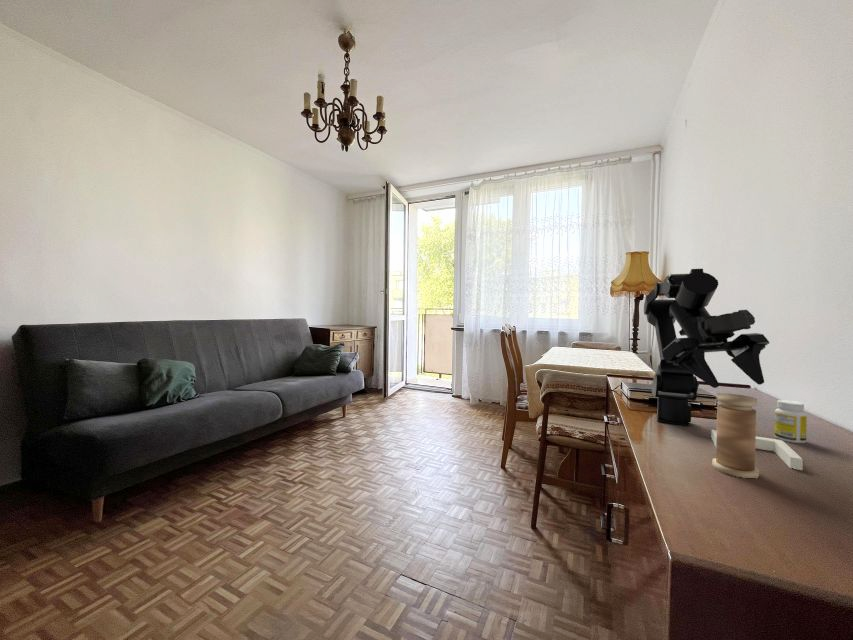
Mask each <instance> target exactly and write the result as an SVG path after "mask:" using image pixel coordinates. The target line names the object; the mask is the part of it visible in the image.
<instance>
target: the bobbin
mask: <svg viewBox="0 0 853 640" xmlns="http://www.w3.org/2000/svg"><path fill="white" fill-rule="evenodd" d="M716 401H717V402H719V403H720V404H717V405H716V406H717V407H716V408H717V409H716V430H717V441H716V447H715V449H716V451H715V452H716V453H715V457H714V458H712V460H711V461H712V462H711V463H712V464H711V465H712V468H713V469H714V470H716V471H718V472H720V473H723V474H725V475H728V474H729V476H731V475H732V477H735V476H736V478H739V477H742V478H741V479H746V478H756V479H758V477H760V469H759V468H758V467H756V448H755V442H756V436H757V434H756V433H757V431H756V430H757V429H756V428H757V410H756V409H755V408H754V409H753V407H757V406H758V398H755V397H753V396H749V395H745V394H744V395H743V394H738V393H737V394H736V393H723V392H722V393H717V394H716Z"/></svg>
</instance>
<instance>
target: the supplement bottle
mask: <svg viewBox="0 0 853 640" xmlns="http://www.w3.org/2000/svg"><path fill="white" fill-rule="evenodd" d="M776 406H777V407H778V408H776V409H775V410H774V437H775V438H776V439H777V440H782V441H783V442H788V443H793V444H794V443H795V444H805V443H806V442H807V423H808V422H807V420H808V418H807V417H808V416H807V413H805V412H804V411H805V404H804V403H803V402H800V401H796V400H787V399H778V400H777V404H776Z"/></svg>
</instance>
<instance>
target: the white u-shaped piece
mask: <svg viewBox="0 0 853 640" xmlns="http://www.w3.org/2000/svg"><path fill="white" fill-rule="evenodd" d="M710 435H711V438H712V439H711V441H712V440H713V441H712V443H713V442H714V443H713V444H714V447H715V448H716V441H717V429H711V434H710ZM756 449H757V450H764V451H769V452H774V453H775V454H776V455H777V456H778V457H779V458H780V460H782V461H783V462H784V464H785V465H787V467H788V468H789V469H792V468H793V470H797V471H803V469H804V467H803V466H804V465H803V461H804V460H803V457H801V456H800V455H799V454H798V453H797V452H795V450H793V449H792V448H791V447H790V446H789V445H788V444H787V443H785V441H784V440H780V439H778V438H776V439H775V438H771V437H770V438H769V437H763V436H757V435H756V442H755V450H756Z"/></svg>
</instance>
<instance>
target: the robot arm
mask: <svg viewBox="0 0 853 640" xmlns="http://www.w3.org/2000/svg"><path fill="white" fill-rule="evenodd" d="M718 286H719V280H718V278H717V279H716V277H715V276H714V275H712V274H710V273H707V272H704V268H691V269H690V272H689V273H670V274H668V275H667V276H666V277H664V279H663V281H658V282H655V283H654V287H653V290H651V291H650V292H649V293H648V294H647V295H646V296H645V299H644V304H643V314H644V315H645V316H646V320H647V322H648V323H649V324H650V325H651V326H653V327H654V329H655V336H656V341H657V349H658V354H659V358H660V362H659V364H658V365H657V370H656V372H655V373H654V375H653V379H652V383H651V394H652V395H653V397H654V398H657V413H656V421H657V422H661V423H667V424H674V425H681V426H690V423H691V422H692V406H691V404H690V403H689V401H692V402H694V401H696V400H697V394H698V389H699V386H700V382H699V381H698V379H700V380H702V381H703V383H706V384H707V385H709V386H710V387H711V388H713V389H716V388H718V387H719V386H720V384H719V381H718V380H717V377H716V376H715V375H714V372H713V370H712V369H711V368H710V366H709V364H708V362H707V361H706V358H705V356H706V354H705V353H718V352H725V353H726V354H727V356H729V357H731V359H730V361H731V362H732V363H733V364H735V366H737V367H738V368H739V369H740V370H741V371H742V372H743V373H744V374H745V375H746V376H747V377H748V378H750V379H751V380H752V381H753V382H754V383H756V384H757V385H759V386H760V385H763V384H764V383H765V378H764V375H763V370H762V367H761V359H760V354H761V352H762V351H763V350H765V349H766V346H768V345H769V344H770V341H769V340H768V339H767V337H766V336H765V335H764V333H757V332H755V333H754V332H753V333H741V334H739V335H738V336H736V338H734V339H733V340H730V341H728V339H731V338H732V337H734V336H735V335H736V334H735V332H738V331H742V330H750V329H751V328H752V327H751V326H752V325H754V324H755V323H756V320H755V319H756V318H755V316H754V315H753V314H752V312H750V310H748V309H739V310H738V311H732V312H729V313H723V314H719V315H711V314H710V313H709V311H708V310H707V308H706V307H707V306H709V304H710V302H711V300H712V298H713V297H714V295H715V292H716V290H717V289H718ZM658 296H664V297H666V298H667V299H657V298H658ZM676 322H677V323H678V325H679V328H681V329H680V330H679V331H678V333H679V335H680V336H684V337H677V333H676V328H675V325H674V324H675V323H676ZM685 336H686V337H685Z"/></svg>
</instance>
